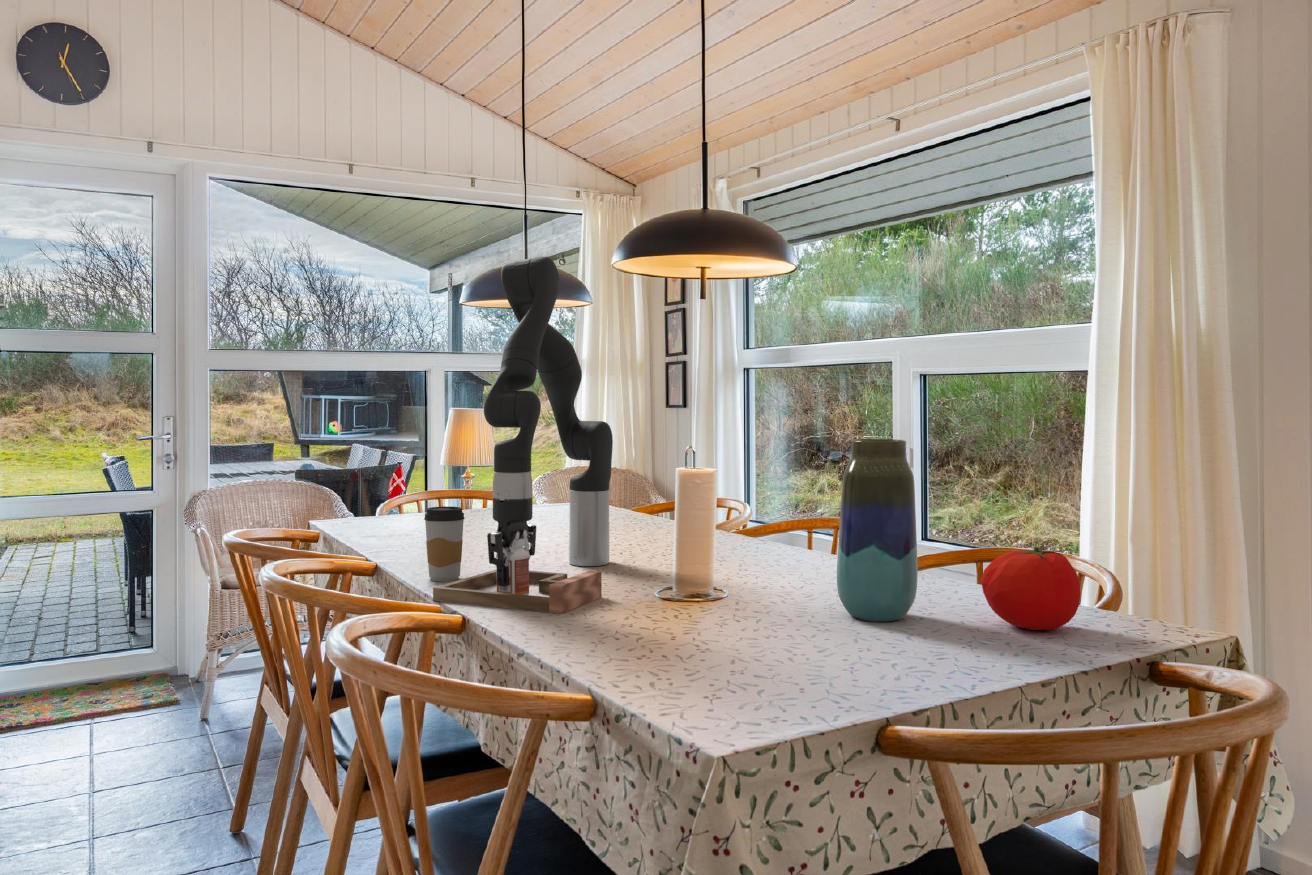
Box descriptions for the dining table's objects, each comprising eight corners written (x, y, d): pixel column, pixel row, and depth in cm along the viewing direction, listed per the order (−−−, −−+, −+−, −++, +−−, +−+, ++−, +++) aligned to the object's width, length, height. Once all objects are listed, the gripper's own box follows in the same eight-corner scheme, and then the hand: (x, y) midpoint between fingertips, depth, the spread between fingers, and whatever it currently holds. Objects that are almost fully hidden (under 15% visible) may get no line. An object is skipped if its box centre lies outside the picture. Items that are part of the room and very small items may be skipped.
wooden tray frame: (500, 579, 199) (500, 555, 199) (618, 590, 188) (618, 565, 188) (433, 600, 177) (433, 573, 177) (561, 613, 167) (561, 585, 166)
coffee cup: (469, 575, 203) (469, 506, 202) (457, 583, 195) (457, 510, 194) (432, 574, 204) (431, 505, 203) (418, 582, 195) (418, 510, 195)
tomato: (1084, 626, 160) (1086, 545, 159) (1074, 643, 148) (1076, 556, 148) (988, 615, 168) (990, 538, 167) (971, 630, 156) (973, 548, 156)
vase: (916, 611, 171) (919, 439, 170) (916, 628, 157) (919, 442, 156) (839, 606, 174) (841, 438, 173) (832, 622, 161) (835, 440, 160)
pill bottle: (527, 592, 184) (527, 535, 183) (530, 598, 178) (530, 540, 177) (495, 593, 182) (495, 536, 182) (497, 600, 176) (497, 541, 176)
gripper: (515, 491, 187) (515, 574, 188) (474, 498, 174) (474, 587, 175) (548, 493, 184) (548, 577, 185) (509, 499, 171) (509, 591, 172)
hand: (512, 582), depth 180 cm, fingers closed on pill bottle, 6 cm apart
